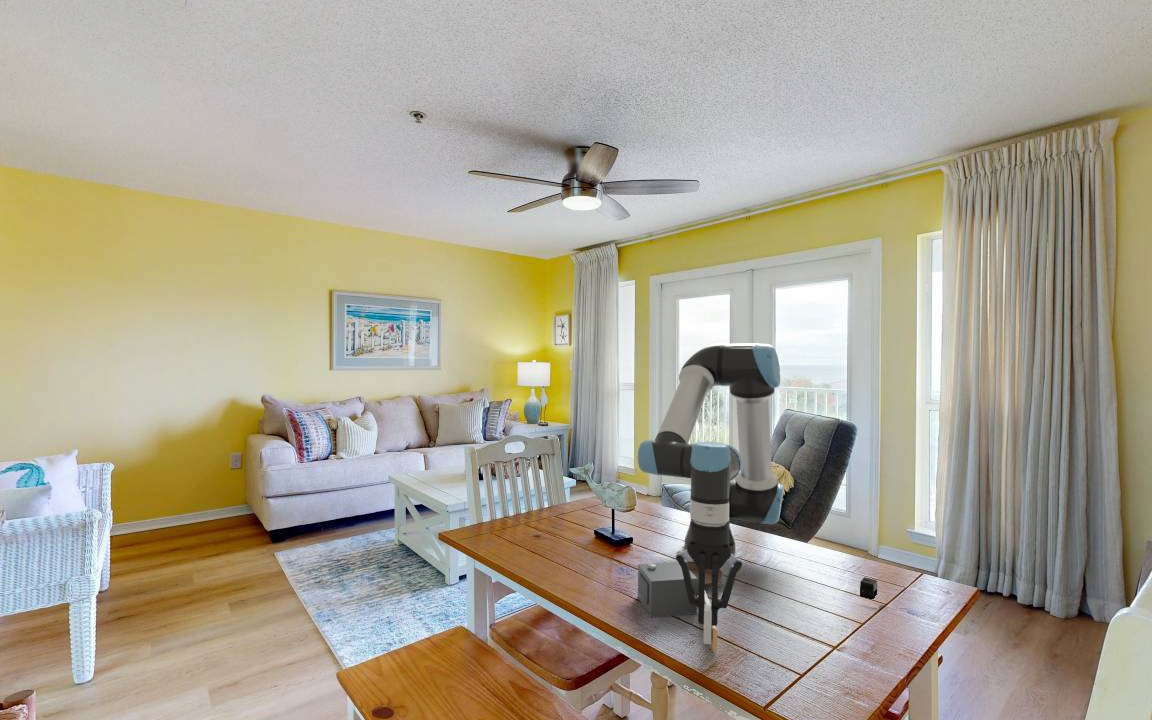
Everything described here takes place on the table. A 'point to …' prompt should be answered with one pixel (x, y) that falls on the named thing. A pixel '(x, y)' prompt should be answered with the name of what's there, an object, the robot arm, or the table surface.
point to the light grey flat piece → (712, 630)
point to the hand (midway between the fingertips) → (707, 640)
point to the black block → (868, 588)
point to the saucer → (708, 574)
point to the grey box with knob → (665, 589)
